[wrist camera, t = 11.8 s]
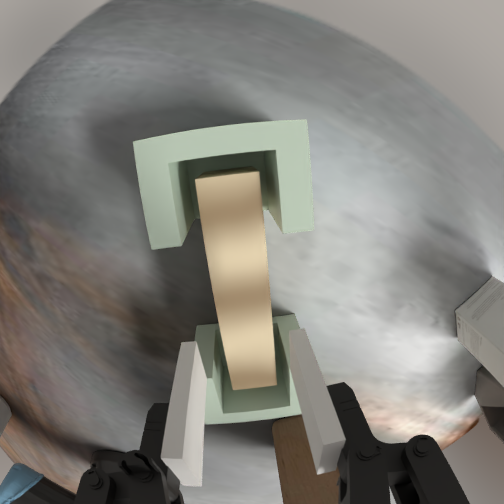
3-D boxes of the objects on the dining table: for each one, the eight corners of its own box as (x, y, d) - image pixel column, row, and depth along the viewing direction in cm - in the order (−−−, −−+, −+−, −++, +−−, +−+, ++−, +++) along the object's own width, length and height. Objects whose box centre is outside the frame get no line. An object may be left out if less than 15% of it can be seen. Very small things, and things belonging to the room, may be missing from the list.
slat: (269, 346, 25) (277, 385, 21) (232, 351, 25) (233, 390, 21) (252, 166, 20) (259, 171, 15) (203, 172, 20) (194, 179, 15)
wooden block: (268, 419, 31) (291, 562, 12) (345, 396, 31) (398, 532, 12) (285, 450, 35) (306, 562, 16) (349, 431, 34) (388, 539, 16)
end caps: (295, 361, 28) (310, 412, 21) (208, 371, 27) (205, 424, 21) (282, 128, 20) (306, 119, 13) (163, 142, 19) (132, 141, 13)
